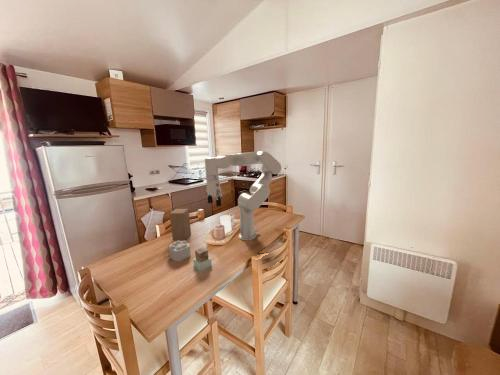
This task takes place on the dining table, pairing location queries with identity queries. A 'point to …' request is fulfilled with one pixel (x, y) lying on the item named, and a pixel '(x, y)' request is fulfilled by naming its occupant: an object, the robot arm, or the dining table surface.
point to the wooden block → (180, 224)
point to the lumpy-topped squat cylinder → (179, 250)
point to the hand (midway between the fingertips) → (214, 204)
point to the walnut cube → (201, 254)
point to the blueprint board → (203, 269)
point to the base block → (202, 263)
